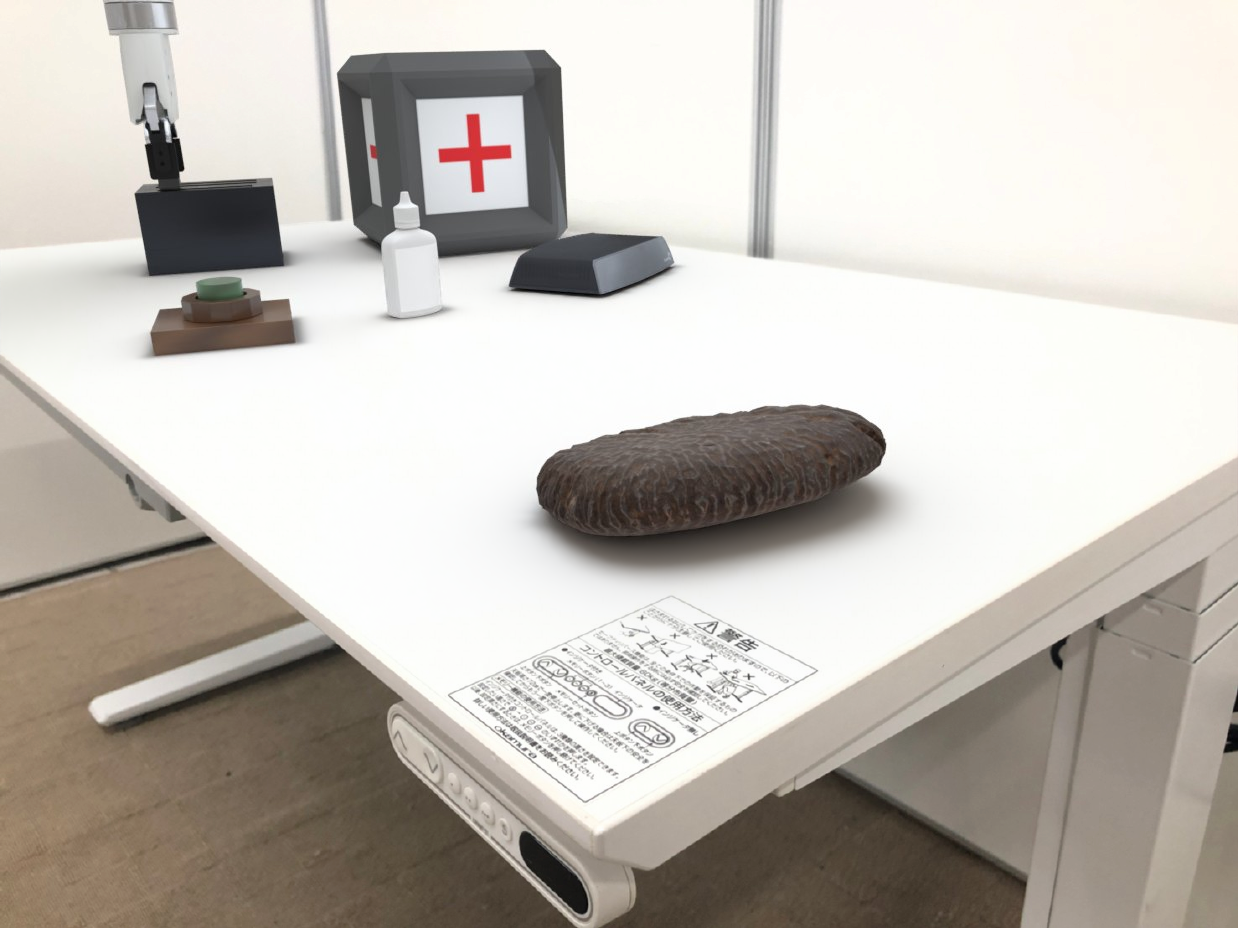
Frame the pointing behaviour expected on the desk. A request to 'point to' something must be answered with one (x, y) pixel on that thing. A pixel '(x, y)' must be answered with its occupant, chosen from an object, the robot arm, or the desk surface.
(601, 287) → the hard drive
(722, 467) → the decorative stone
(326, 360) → the desk surface
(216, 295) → the button
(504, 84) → the first aid kit
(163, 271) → the toaster
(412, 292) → the eye dropper bottle
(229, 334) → the brown button base
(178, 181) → the toaster slider
